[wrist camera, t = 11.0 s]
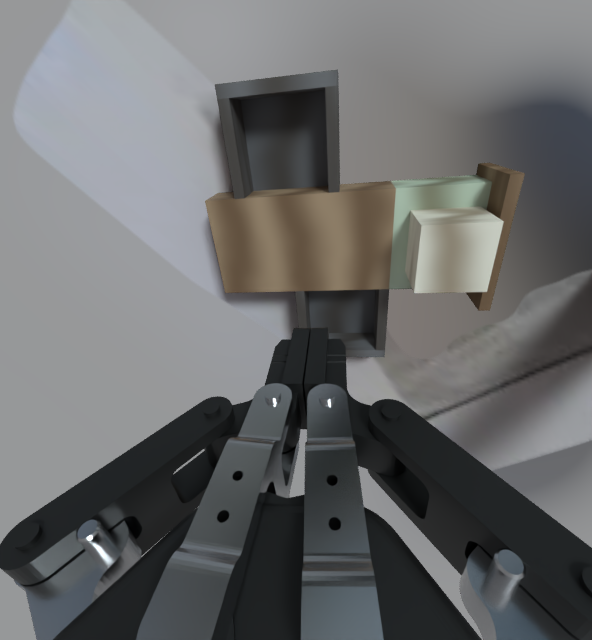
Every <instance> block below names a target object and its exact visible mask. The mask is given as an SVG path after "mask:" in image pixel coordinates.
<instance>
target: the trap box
mask: <svg viewBox="0 0 592 640" xmlns="http://www.w3.org/2000/svg"><path fill="white" fill-rule="evenodd" d="M215 89H216V95H217V101H218V106H219V112H220V118H221V124H222V129H223V135H224V141H225V146H226V152H227V158H228V164H229V169H230V175H231V181H232V187H233V192H227V193H218V194H216V195H214V196H213V197H211V198H209V199H208V200H206V201H205V203H206V207H207V212H208V217H209V221H210V226H211V230H212V235H213V239H214V244H215V248H216V253H217V257H218V262H219V267H220V271H221V276H222V280H223V285H224V289H225V293H241V292H285V291H295V296H296V306H297V316H298V327H299V328H325V327H328V331H329V339H341V340H342V342H343V343H344V344H345V346H346V357H384V355H385V341H386V326H387V311H388V296H389V289H412V287H411V285H410V282H409V280H408V277H407V275H406V272H405V265H406V254H407V243H408V232H409V222H410V211H411V210H426V209H443V208H461V207H478V206H481V207H482V208H484V209H485V210H487V211H488V212H490V213H492V214H493V215H495V216H496V217H498V218H499V219H501V220H502V221H504V223H503V227H502V231H501V235H500V239H499V244H498V248H497V252H496V256H495V260H494V264H493V269H492V273H491V277H490V281H489V285H488V289H487V292H466V293H467V295H468V296H469V298H470V299H471V301H472V302H473V303H474V305H475V306H476V307H477V309H478V310H479V311H480V310H490V308H491V304H492V300H493V296H494V292H495V288H496V284H497V280H498V276H499V272H500V268H501V265H502V261H503V257H504V253H505V249H506V245H507V241H508V236H509V233H510V229H511V225H512V221H513V217H514V213H515V209H516V206H517V202H518V198H519V194H520V190H521V186H522V182H523V178H524V173H521V172H518V171H515V170H512V169H508V168H505V167H502V166H499V165H495V164H492V163H480V164H478V169H477V174H476V175H472V176H471V175H470V176H455V177H442V178H427V179H413V180H400V181H399V180H398V181H385V182H369V183H355V184H341V185H340V163H339V161H340V160H339V94H338V70H331V71H323V72H314V73H307V74H298V75H290V76H282V77H273V78H265V79H257V80H249V81H241V82H232V83H224V84H216V85H215Z"/></svg>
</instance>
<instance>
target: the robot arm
mask: <svg viewBox="0 0 592 640" xmlns="http://www.w3.org/2000/svg"><path fill="white" fill-rule="evenodd" d="M300 429H307V442H306V445H305V494H304V495H301V496H296V497H292V498H289V494H290V488H291V483H292V479H293V474H294V469H295V463H296V459H297V455H298V450H299V436H300ZM202 449H205V451H204V452H202V453H201V454H200V455H199V456H197V457H196V458H195V459H193V460H192V461H191V462H189V463H188V464H187V465H185V466H184V467H183V468H182V469H180V470H179V471H178V472H176V473H175V474H174V475H173V473H174V472H175V471H176V470H177V469H178V468H179V467H180V466H181V465H183V464H184V463H186V462H187V461H188V460H190V459H191V458H192V457H193V456H195V455H196V454H197V453H199V452H200V451H201V450H202ZM358 466H361V467H364V468H366V469H368V472H369V474H370V476H371V477H372V478H373V479H374V480H375V481H376V482H377V484H378V485H379V486H380V487H381V488H382V489H383V490H384V491H385V492H386V493H387V495H388V496H389V497H390V498H391V499H392V500H393V501H394V502H395V503H396V504H397V505H398V507H399V508H400V509H401V510H402V511H403V512H404V513H405V514H406V515H407V516H408V518H409V519H410V520H411V521H412V522H413V523H414V524H415V525H416V526H417V527H418V528H419V530H421V532H422V533H423V534H424V535H425V536H426V537H427V538H428V539H429V540H430V542H431V543H432V544H433V545H434V546H435V547H436V548H437V549H438V550H439V551H440V553H441V554H442V555H443V556H444V557H445V558H446V559H447V560H448V561H449V562H450V563H451V565H452V566H453V567H454V568H455V569H456V570H457V571H458V572H459V573H460V574H461V575H462V576H461V580H460V594H461V598H462V601H463V603H464V606H465V607H466V609H467V611H468V613H469V614H470V616H471V617H472V618H473V620H474V621H475V623H476V624H477V626H478V628H479V630H480V632H481V635H482V637H483V640H592V548H591V547H589V546H588V545H587V544H586V543H584V542H583V541H582V540H581V539H579V538H578V537H577V536H575V535H574V534H573V533H571V532H570V531H569V530H568V529H566V528H565V527H564V526H562V525H561V524H560V523H558V522H557V521H556V520H555V519H553V518H552V517H551V516H549V515H548V514H547V513H545V512H544V511H543V510H542V509H540V508H539V507H538V506H536V505H535V504H534V503H532V502H531V501H529V500H528V499H527V498H526V497H525V496H523V495H522V494H521V493H519V492H518V491H517V490H516V489H514V488H513V487H512V486H510V485H509V484H508V483H506V482H505V481H504V480H503V479H501V478H500V477H499V476H497V475H496V474H495V473H493V472H492V471H491V470H490V469H488V468H487V467H486V466H484V465H483V464H482V463H480V462H479V461H478V460H477V459H475V458H474V457H473V456H471V455H470V454H469V453H467V452H466V451H465V450H464V449H462V448H461V447H460V446H458V445H457V444H456V443H454V442H453V441H452V440H451V439H449V438H448V437H447V436H445V435H444V434H443V433H441V432H440V431H439V430H438V429H436V428H435V427H434V426H432V425H431V424H430V423H428V422H427V421H426V420H425V419H423V418H422V417H421V416H419V415H418V414H417V413H415V412H414V411H413V410H412V409H410V408H409V407H408V406H406V405H405V404H403V403H402V402H399V401H397V400H392V399H384V400H379V401H377V402H375V403H374V404H373V405H372V406H370V405H366V404H363V403H360V402H358V401H356V400H355V399H353V398H352V397H351V396H350V395H349V393H348V391H347V379H346V346H345V344H344V343H343V342H342V340H341V339H329V331H328V327H325V328H294V329H293V333H292V338H291V340H281V341H280V342H279V344H278V345H277V346H276V347H275V351H274V354H273V357H272V361H271V364H270V368H269V372H268V375H267V379H266V383H265V386H263V387H262V388H260V389H259V390H258V391H257V392H256V394H255V396H254V398H253V399H252V400H250V401H248V402H244V403H240V404H236V405H232V404H231V403H230V401H229V400H228V399H227V398H224V397H211V398H208V399H206V400H204V401H202V402H201V403H199V404H198V405H196V406H195V407H193V408H192V409H190V410H189V411H187V412H186V413H184V414H183V415H181V416H180V417H178V418H176V419H175V420H173V421H172V422H170V423H169V424H168V425H166V426H164V427H163V428H161V429H160V430H158V431H157V432H155V433H154V434H152V435H151V436H149V437H148V438H146V439H145V440H144V441H142V442H140V443H139V444H137V445H136V446H134V447H133V448H131V449H130V450H128V451H127V452H125V453H124V454H122V455H121V456H119V457H118V458H116V459H115V460H113V461H112V462H110V463H109V464H107V465H106V466H104V467H103V468H101V469H100V470H98V471H97V472H95V473H93V474H92V475H91V476H89V477H88V478H86V479H85V480H83V481H81V482H80V483H79V484H77V485H75V486H74V487H72V488H71V489H70V490H68V491H66V492H65V493H63V494H62V495H60V496H59V497H57V498H56V499H54V500H53V501H51V502H50V503H48V504H47V505H45V506H44V507H42V508H41V509H39V510H38V511H36V512H35V513H33V514H32V515H30V516H29V517H27V518H26V519H24V520H23V521H21V522H20V523H19V524H18V525H16V526H15V527H14V528H13V529H12V530H11V531H10V532H9V533H8V534H7V536H6V537H5V538H4V540H3V541H2V543H1V544H0V568H1V569H2V570H3V571H4V572H6V573H7V574H8V575H9V576H11V577H12V578H13V579H14V581H15V583H16V584H17V585H18V586H19V587H21V588H22V589H23V590H25V591H26V594H27V599H28V603H29V608H30V612H31V617H32V621H33V626H34V630H35V634H36V639H37V640H481V638H480V637H479V636H478V635H477V633H476V632H475V631H474V629H473V628H472V627H471V626H470V624H469V623H468V622H467V621H466V619H465V618H464V617H463V616H462V614H461V613H460V612H459V611H458V609H457V608H456V607H455V606H454V605H453V603H452V602H451V601H450V599H449V598H448V597H447V596H446V594H445V593H444V592H443V591H442V589H441V588H440V587H439V585H438V584H437V583H436V582H435V580H434V579H433V578H432V577H431V576H430V574H429V573H428V572H427V571H426V569H425V568H424V567H423V565H422V564H421V563H420V562H419V560H418V559H417V558H416V557H415V555H414V554H413V553H412V552H411V550H410V549H409V548H408V547H407V545H406V544H405V543H404V542H403V540H402V539H401V538H400V537H399V535H398V534H397V533H396V532H395V530H394V529H393V528H392V527H391V526H390V525H389V524H388V523H387V522H386V521H385V520H384V519H382V518H381V517H380V516H379V515H377V514H376V513H374V512H372V511H371V510H369V509H367V508H365V507H364V505H363V498H362V491H361V483H360V476H359V469H358ZM198 506H199V507H198ZM197 507H198V508H197ZM169 531H170V532H169ZM168 532H169V533H168ZM167 533H168V534H167ZM166 534H167V535H166ZM164 536H165V537H164ZM161 538H162V539H161ZM160 539H161V540H160ZM159 540H160V541H159ZM158 541H159V542H158ZM157 542H158V543H157ZM156 543H157V544H156ZM154 544H156V545H155V546H153V545H154ZM152 546H153V547H152ZM151 547H152V548H151ZM150 548H151V549H150ZM149 549H150V550H149ZM147 550H149V551H148V552H147V553H146V554H145V555H144V556H143V557H141V556H142V555H143V554H144V553H145V552H146V551H147Z"/></svg>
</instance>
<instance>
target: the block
mask: <svg viewBox="0 0 592 640" xmlns="http://www.w3.org/2000/svg"><path fill="white" fill-rule="evenodd" d="M503 223H504V221H502V220H501V219H499V218H498V217H496V216H495V215H493V214H492V213H490V212H488V211H487V210H485V209H484V208H482V207H481V206H478V207H461V208H443V209H426V210H411V211H410V222H409V232H408V243H407V254H406V265H405V272H406V275H407V277H408V280H409V282H410V285H411V287H412V290H413V292H414V293H458V292H487V289H488V285H489V281H490V277H491V273H492V269H493V264H494V260H495V256H496V252H497V248H498V244H499V239H500V235H501V231H502V227H503Z"/></svg>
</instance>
